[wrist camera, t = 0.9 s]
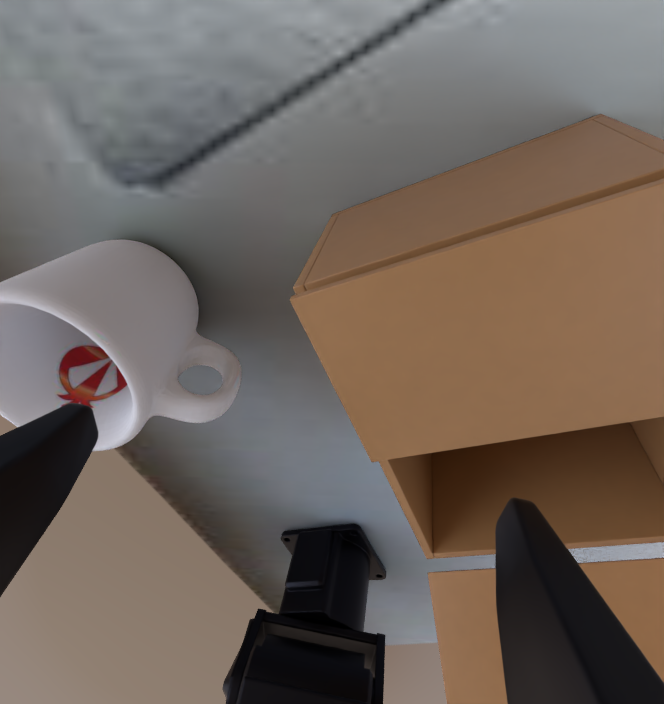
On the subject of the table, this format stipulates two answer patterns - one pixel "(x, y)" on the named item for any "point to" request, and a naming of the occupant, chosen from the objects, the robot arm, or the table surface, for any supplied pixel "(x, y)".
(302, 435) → the table surface
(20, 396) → the cup
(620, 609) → the flap
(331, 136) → the table surface
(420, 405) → the carton
